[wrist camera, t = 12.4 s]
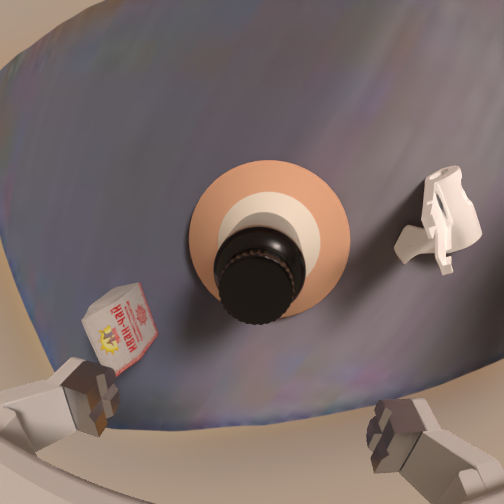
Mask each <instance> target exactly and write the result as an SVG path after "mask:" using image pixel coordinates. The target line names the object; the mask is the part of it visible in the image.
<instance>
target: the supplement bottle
mask: <svg viewBox="0 0 504 504" xmlns="http://www.w3.org/2000/svg"><path fill="white" fill-rule="evenodd" d="M213 274H214V280H215V284H216V286H217V289H218V291H219V297H220V298H221V303H222V304H223V306H224V308H225V309H226V310H227V312H228V314H230V315H232V316H233V318H235V319H238V320H239V321H240V322H245V323H246V324H253V325H256V324H259V325H262V324H264V323H265V324H268V323H270V322H271V321H275V320H276V319H277V318H280V317H281V316H282V314H284V313H286V311H287V309H288V308H289V307H290V304H291V303H293V302H294V301H295V299H296V298H297V297H298V295H299V294H300V292H301V290H302V288H303V286H304V282H305V278H306V264H305V259H304V255H303V252H302V248H301V244H300V241H299V237H298V235H297V232H296V231H295V229H294V227H293V226H292V225H291V224H290V223H289V222H288V221H287V220H286V219H285V218H283V217H281V216H279V215H277V214H274V213H270V212H258V213H254V214H251V215H249V216H247V217H245V218H243V219H242V220H241V221H240V222H239V223H238V224H237V225H236V226H235V227H234V228H233V230H232V231H231V232H230V234H229V235H228V236H227V238H226V239H225V240H224V242H223V243H222V244H221V246H220V248H219V249H218V251H217V254H216V256H215V260H214V266H213Z"/></svg>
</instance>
